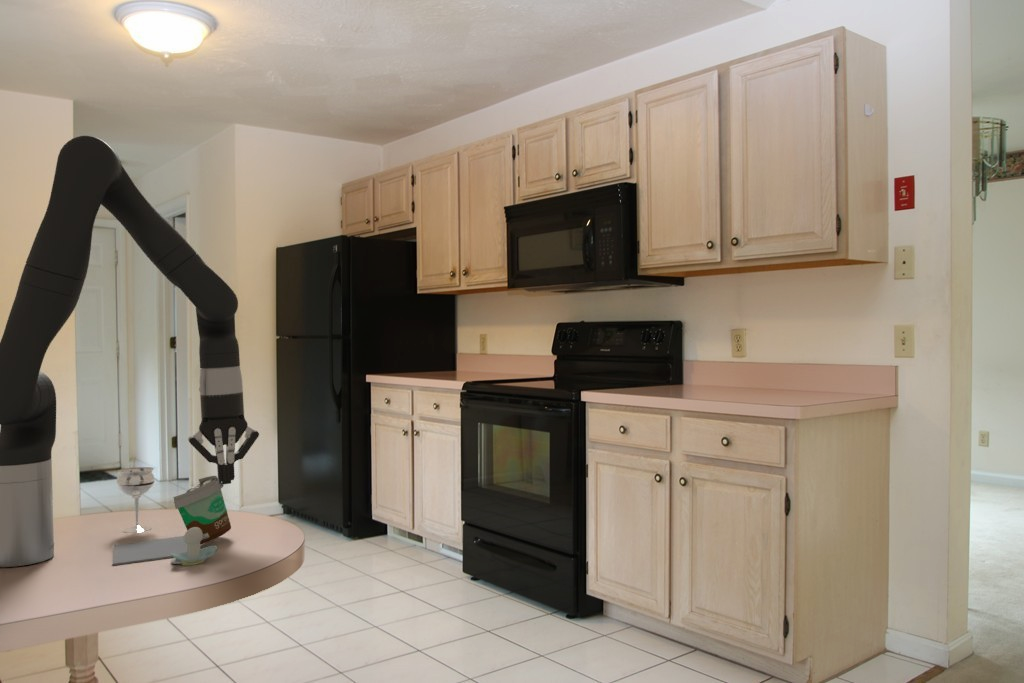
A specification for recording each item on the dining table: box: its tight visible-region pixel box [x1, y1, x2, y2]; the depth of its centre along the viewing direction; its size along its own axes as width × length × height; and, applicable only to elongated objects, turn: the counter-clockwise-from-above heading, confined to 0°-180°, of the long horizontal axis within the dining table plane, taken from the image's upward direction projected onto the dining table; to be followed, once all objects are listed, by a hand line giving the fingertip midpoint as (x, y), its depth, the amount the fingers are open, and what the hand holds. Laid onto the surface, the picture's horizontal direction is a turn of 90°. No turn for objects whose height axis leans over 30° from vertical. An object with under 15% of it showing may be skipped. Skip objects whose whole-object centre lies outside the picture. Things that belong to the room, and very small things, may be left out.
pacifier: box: [169, 527, 217, 566], centre depth 132 cm, size 7×6×6 cm
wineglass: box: [116, 466, 155, 534], centre depth 156 cm, size 7×7×12 cm
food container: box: [173, 475, 232, 546], centre depth 144 cm, size 12×6×10 cm, turn 0°
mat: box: [112, 535, 187, 566], centre depth 140 cm, size 14×14×1 cm
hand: (226, 483), depth 146 cm, fingers closed
